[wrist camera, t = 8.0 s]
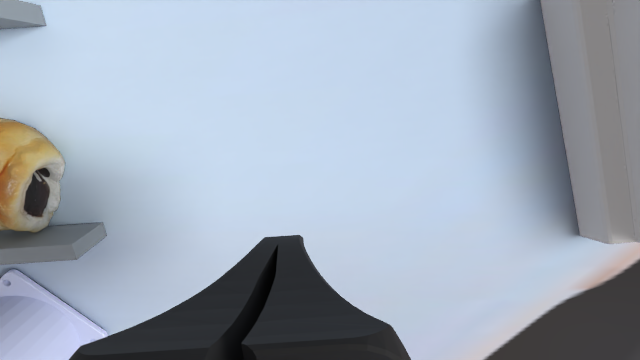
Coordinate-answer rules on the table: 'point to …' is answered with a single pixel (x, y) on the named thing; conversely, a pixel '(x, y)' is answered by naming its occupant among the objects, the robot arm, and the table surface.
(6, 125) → the pastry
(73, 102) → the table surface
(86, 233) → the chute dock
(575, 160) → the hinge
